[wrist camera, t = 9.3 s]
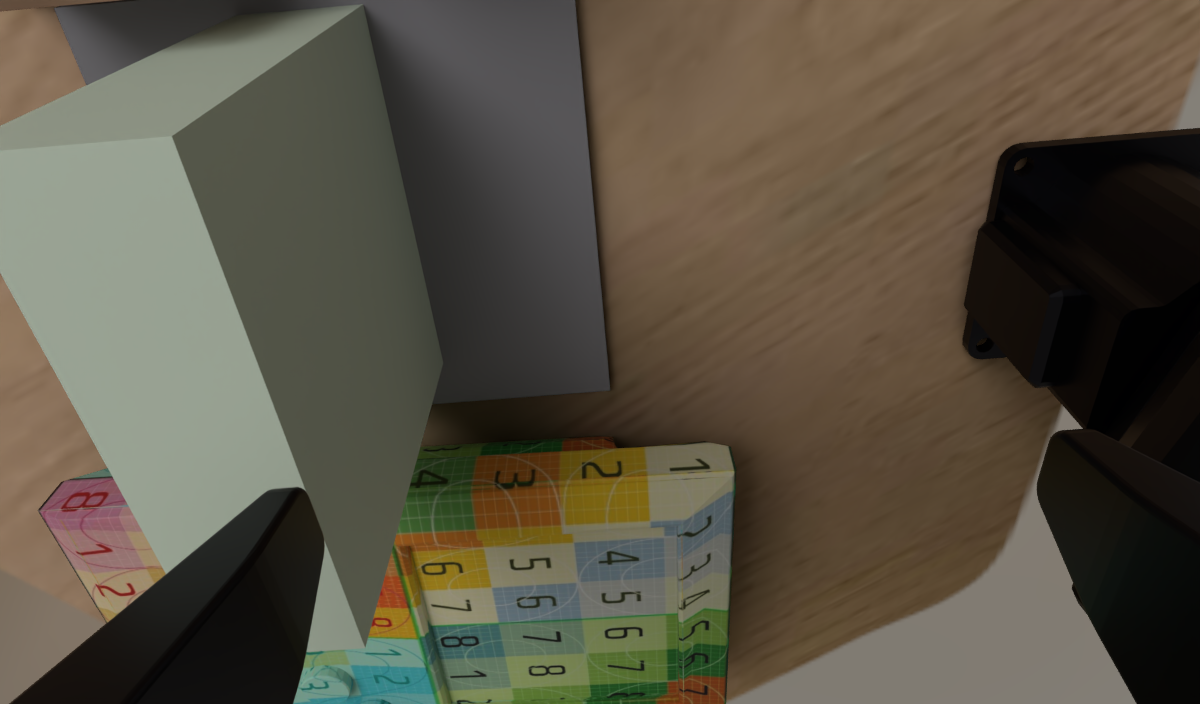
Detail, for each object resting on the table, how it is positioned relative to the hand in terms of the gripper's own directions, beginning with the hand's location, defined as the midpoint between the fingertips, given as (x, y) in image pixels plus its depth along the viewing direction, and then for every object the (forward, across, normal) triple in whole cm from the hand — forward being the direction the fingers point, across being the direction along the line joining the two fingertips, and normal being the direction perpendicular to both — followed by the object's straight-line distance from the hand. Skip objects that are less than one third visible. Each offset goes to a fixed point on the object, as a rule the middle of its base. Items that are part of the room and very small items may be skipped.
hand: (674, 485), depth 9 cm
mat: (+13, +7, +2) cm, 15 cm away
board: (+13, +7, +1) cm, 15 cm away
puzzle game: (+14, +8, +14) cm, 21 cm away
